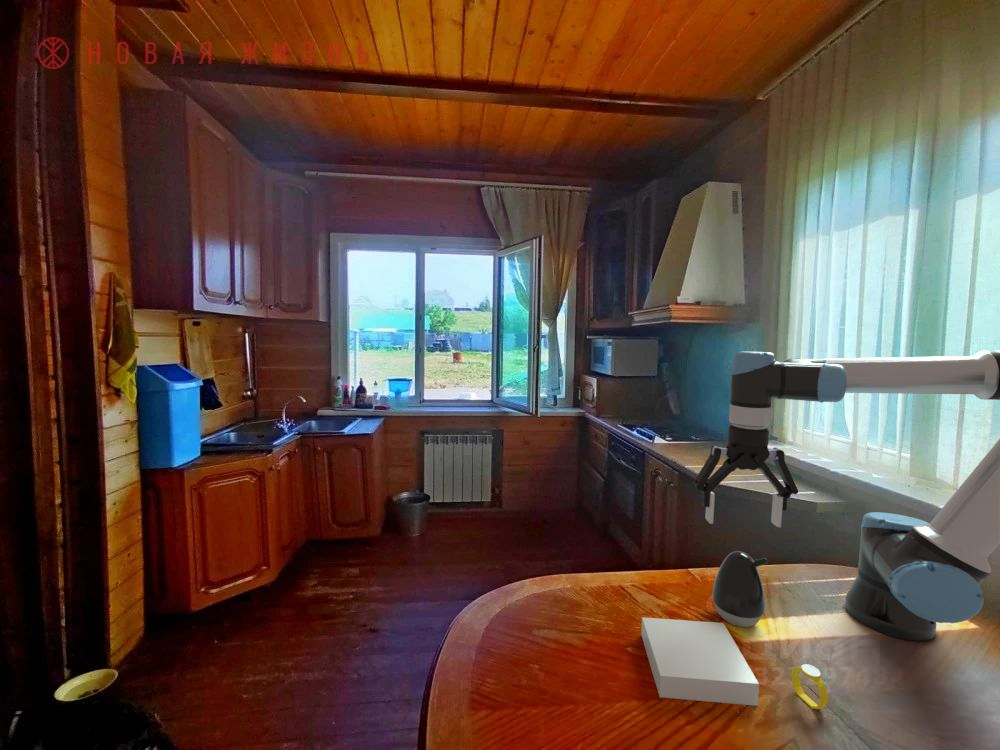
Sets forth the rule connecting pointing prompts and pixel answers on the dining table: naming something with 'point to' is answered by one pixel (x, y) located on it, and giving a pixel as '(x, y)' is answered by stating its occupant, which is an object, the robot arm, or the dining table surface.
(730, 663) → the ceramic base
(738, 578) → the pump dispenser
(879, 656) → the dining table surface
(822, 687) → the watch
